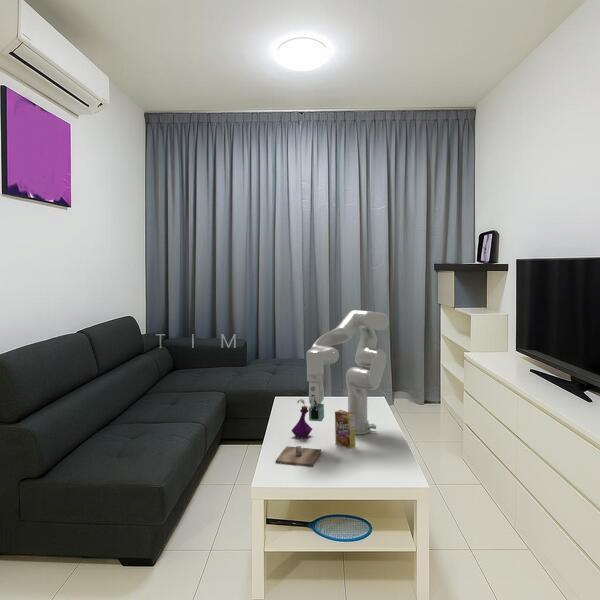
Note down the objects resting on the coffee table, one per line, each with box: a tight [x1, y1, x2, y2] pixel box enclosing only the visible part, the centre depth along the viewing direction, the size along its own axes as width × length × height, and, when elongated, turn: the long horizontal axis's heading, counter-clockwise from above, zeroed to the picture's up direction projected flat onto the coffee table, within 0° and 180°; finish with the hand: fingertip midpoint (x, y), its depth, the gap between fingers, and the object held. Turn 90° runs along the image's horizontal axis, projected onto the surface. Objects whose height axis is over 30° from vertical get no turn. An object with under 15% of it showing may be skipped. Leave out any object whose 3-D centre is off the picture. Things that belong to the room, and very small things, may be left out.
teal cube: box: [308, 403, 325, 422], centre depth 206 cm, size 6×6×6 cm
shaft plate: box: [274, 445, 322, 468], centre depth 197 cm, size 16×16×4 cm
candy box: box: [334, 409, 356, 449], centre depth 210 cm, size 9×4×15 cm, turn 45°
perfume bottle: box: [291, 398, 313, 439], centre depth 221 cm, size 8×8×18 cm
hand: (316, 416), depth 206 cm, fingers closed on teal cube, 5 cm apart
